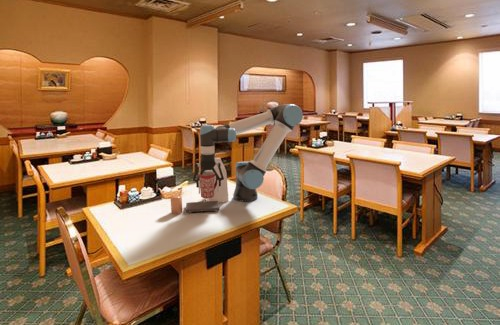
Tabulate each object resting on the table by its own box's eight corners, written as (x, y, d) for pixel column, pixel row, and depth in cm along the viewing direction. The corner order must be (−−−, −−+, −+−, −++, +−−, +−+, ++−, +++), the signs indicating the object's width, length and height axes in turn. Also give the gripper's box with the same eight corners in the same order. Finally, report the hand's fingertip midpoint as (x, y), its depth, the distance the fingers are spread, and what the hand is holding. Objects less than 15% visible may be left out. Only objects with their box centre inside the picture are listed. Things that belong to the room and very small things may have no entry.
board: (217, 204, 190) (217, 200, 190) (219, 211, 179) (219, 207, 178) (186, 206, 187) (186, 202, 187) (186, 213, 176) (185, 209, 175)
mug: (206, 200, 175) (205, 175, 172) (196, 196, 181) (195, 173, 179) (223, 194, 184) (223, 171, 181) (213, 191, 190) (212, 169, 187)
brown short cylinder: (182, 210, 181) (181, 195, 179) (182, 214, 175) (181, 198, 174) (171, 211, 180) (170, 195, 178) (171, 215, 174) (170, 199, 173)
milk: (223, 195, 207) (222, 155, 202) (228, 201, 196) (227, 159, 191) (205, 197, 203) (203, 157, 198) (208, 203, 193) (207, 160, 187)
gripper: (227, 151, 183) (228, 189, 188) (187, 152, 180) (188, 191, 184) (228, 153, 176) (229, 193, 180) (186, 155, 172) (188, 195, 177)
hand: (208, 192), depth 182 cm, fingers closed on mug, 10 cm apart
